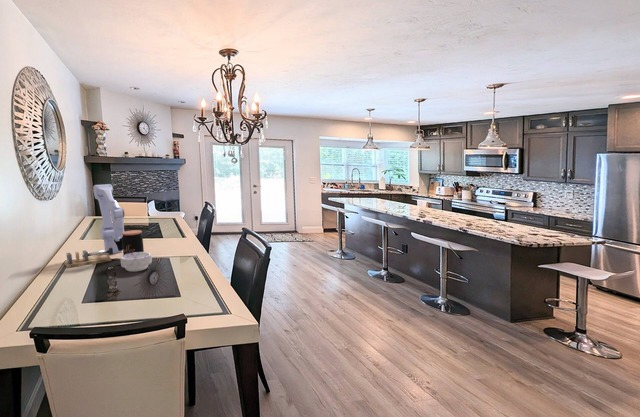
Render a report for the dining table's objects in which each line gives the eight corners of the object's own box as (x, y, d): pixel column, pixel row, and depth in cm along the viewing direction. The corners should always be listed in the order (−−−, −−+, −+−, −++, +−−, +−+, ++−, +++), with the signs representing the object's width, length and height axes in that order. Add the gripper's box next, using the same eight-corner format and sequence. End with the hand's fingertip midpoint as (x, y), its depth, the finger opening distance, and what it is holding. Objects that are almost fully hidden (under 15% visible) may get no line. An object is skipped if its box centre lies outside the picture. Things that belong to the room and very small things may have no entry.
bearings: (86, 258, 232) (85, 250, 232) (88, 260, 228) (87, 252, 227) (67, 261, 226) (66, 253, 226) (69, 263, 222) (68, 254, 221)
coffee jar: (120, 263, 226) (117, 232, 224) (136, 259, 235) (133, 229, 233) (132, 265, 221) (129, 234, 219) (148, 261, 230) (146, 230, 228)
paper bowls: (140, 274, 205) (139, 259, 204) (115, 272, 208) (113, 258, 207) (158, 266, 220) (157, 252, 219) (133, 265, 223) (132, 251, 222)
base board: (106, 257, 242) (106, 254, 242) (111, 260, 233) (111, 258, 233) (64, 263, 228) (64, 261, 228) (67, 268, 219) (67, 265, 219)
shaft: (111, 253, 240) (111, 247, 239) (113, 254, 237) (112, 248, 236) (82, 258, 230) (81, 251, 229) (83, 259, 227) (82, 252, 226)
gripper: (113, 227, 245) (115, 248, 247) (108, 231, 231) (110, 253, 233) (126, 226, 247) (128, 247, 249) (122, 230, 234) (123, 252, 235)
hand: (120, 250), depth 241 cm, fingers closed
